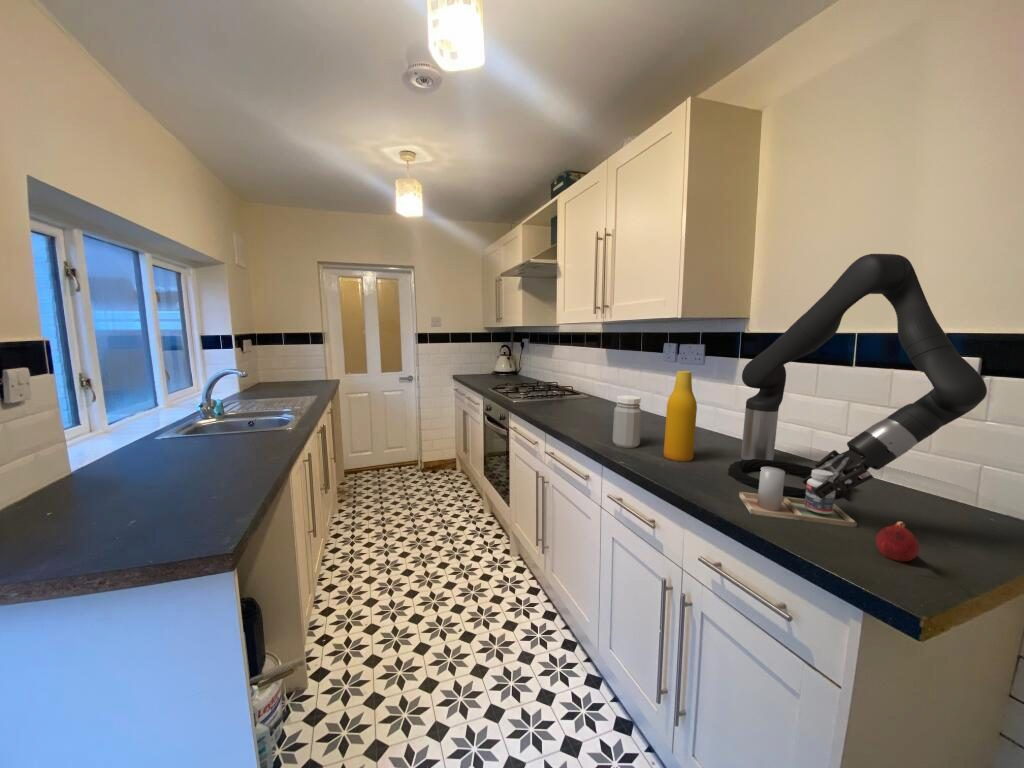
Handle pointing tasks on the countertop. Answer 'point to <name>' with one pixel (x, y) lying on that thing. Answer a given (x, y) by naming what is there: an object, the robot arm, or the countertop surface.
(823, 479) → the pill bottle
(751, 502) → the divided tray
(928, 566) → the countertop surface
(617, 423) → the jar
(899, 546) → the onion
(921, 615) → the countertop surface
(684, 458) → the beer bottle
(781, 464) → the cable lock
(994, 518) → the countertop surface
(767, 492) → the grey tube
